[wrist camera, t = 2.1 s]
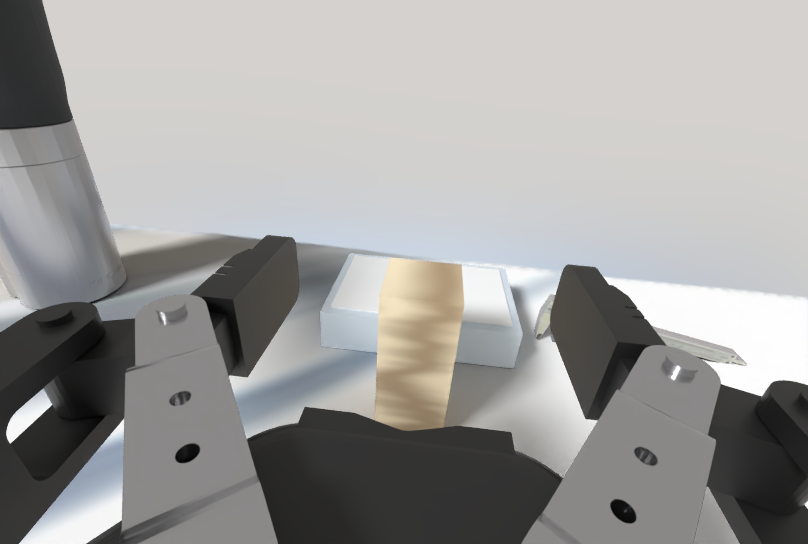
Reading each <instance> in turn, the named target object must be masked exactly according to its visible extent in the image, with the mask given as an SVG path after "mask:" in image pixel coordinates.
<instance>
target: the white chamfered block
mask: <svg viewBox="0 0 808 544" xmlns="http://www.w3.org/2000/svg"><path fill="white" fill-rule="evenodd" d="M390 258H394V257H384V256H374V255H364V254H354V253H350V254H349V255H348V257H347V259H346V261H345V263H344V265H343V267H342V269H341V271H340V273H339V275H338V277H337V279H336V281H335V283H334V285H333V287H332V289H331V291H330V293H329V295H328V297H327V299H326V301H325V302H324V304H323V306H322V308H321V310H320V325H321V343H322V347H330V348H339V349H348V350H356V351H365V352H374V353H377V347H378V318H379V295H380V291H381V288H382V285H383V281H384V278H385V274H386V271H387V267H388V264H389V261H390ZM400 259H404V258H400ZM410 260H414V259H410ZM420 261H424V260H420ZM430 262H434V261H430ZM440 263H444V262H440ZM450 264H454V263H450ZM460 265H462V277H463V292H464V310H463V316H462V322H461V328H460V334H459V340H458V346H457V352H456V358H455V362H460V363H469V364H478V365H486V366H495V367H504V368H512V369H514V366H515V362H516V359H517V355H518V351H519V348H520V344H521V340H522V336H523V332H522V328H521V325H520V321H519V318H518V314H517V310H516V307H515V303H514V299H513V296H512V292H511V289H510V285H509V281H508V278H507V274H506V270H505V269H503V268H493V267H483V266H473V265H463V264H460Z"/></svg>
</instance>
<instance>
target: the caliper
mask: <svg viewBox="0 0 808 544" xmlns="http://www.w3.org/2000/svg"><path fill="white" fill-rule="evenodd" d="M554 299H555V295H552V294H550V296H549V297H548V298H547V300H546V301H545V303H544V304H543V306H542V307H541V309H540V312H539V315H538V318H537V322H536V325H535V329H534V332H535V336H536V338H537V339H539V340H540V339H541V337H542V335H543V334H544V332H545V331H546V329H547V328H548V326H549V325H550V314H551V309H552V306H553V302H554ZM652 327H653V326H652ZM653 329H654V330H655V331H656V332H657V334H658V335H659V336H660V337H661V339H662V340H663V341H664V343H665V344H666V345H667V346H670V347H674V348H677V349H681V350H683V351H686V352H688V353H690V354H692V355H694V356H696V357H699V358H702V359H706V360H709V361H713V362H719V363H727V364H732V363H736V364H739V365H744V366H745V365H747V364H746V363H745V361H744V360H743V359H742V358H741V357H740V356H739V355H737V354H736V352H735V351H734V350H733V349H730V348H727V347H723V346H720V345H716V344H713V343H709V342H706V341H702V340H699V339H695V338H692V337H688V336H685V335H681V334H678V333H674V332H671V331H667V330H664V329H660V328H656V327H653ZM551 339H552V342H555V339H554V337H553V334H551Z"/></svg>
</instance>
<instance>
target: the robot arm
mask: <svg viewBox="0 0 808 544" xmlns="http://www.w3.org/2000/svg"><path fill="white" fill-rule="evenodd" d="M0 276H1V278H2V280H3V282H4V284H5V286H6V288H7V290H8V291H9V293H10V295H11V297H17V298H19V299H20V301H21V303H22V304H23V305H25V306H26V307H29V308H32V309H39V310H38V311H35V312H33V313H31V314H29V315H27V316H26V317H24V318H22V319H21V320H19V321H18V322H16V323H14V324H13V325H11V326H10V327H8V328H7V329H5V330H3V331H2V332H0V544H19V543H20V542H21V541H22V539H23V538H24V537H25V536H26V535H27V533H28V532H29V531H30V530H31V529H32V527H33V526H34V525H35V524H36V523H37V521H38V520H39V519H40V518H41V517H42V515H43V514H44V513H45V512H46V511H47V510H48V508H49V507H50V506H51V505H52V504H53V502H54V501H55V500H56V499H57V498H58V496H59V495H60V494H61V493H62V492H63V490H64V489H65V488H66V487H67V486H68V484H69V483H70V482H71V481H72V480H73V479H74V477H75V476H76V475H77V474H78V473H79V471H80V470H81V469H82V468H83V467H84V465H85V464H86V463H87V462H88V461H89V459H90V458H91V457H92V456H93V455H94V453H95V452H96V451H97V450H98V449H99V448H100V446H101V445H102V444H103V443H104V442H105V440H106V439H107V438H108V437H109V436H110V434H111V433H112V432H113V431H114V430H115V428H116V427H117V426H118V425H119V424H120V422H121V421H122V420H123V419H124V457H123V501H122V521H120V522H119V523H117V524H116V525H114V526H113V527H111V528H110V529H108V530H106V531H105V532H103V533H102V534H100V535H99V536H97V537H96V538H94V539H93V540H91V541H90V542H88V543H87V544H693V542H694V538H695V533H696V529H697V525H698V520H699V516H700V512H701V507H702V503H703V498H704V494H705V490H706V486H707V487H709V488H710V491H711V492H712V494H713V496H714V498H715V499H716V501H717V503H718V505H719V507H720V508H721V510H722V512H723V514H724V516H725V517H726V519H727V521H728V523H729V525H730V526H731V528H732V530H733V532H734V534H735V535H736V537H737V539H738V541H739V543H740V544H808V509H807V508H806V506H805V505H804V504H805V503H806V502H807V501H808V385H805V384H801V383H798V382H793V381H784V380H783V381H775V382H773V383H771V385H770V386H769V387H768V389H767V390H766V392H765V393H764V394H763V396H762V397H761V396H758V395H755V394H751V393H748V392H745V391H741V390H738V389H735V388H731V387H728V386H725V385H722V384H721V381H720V378H719V376H718V374H717V373H716V372H715V370H714V369H713V368H712V367H710V366H709V365H708V364H707V363H706V362H704V361H703V360H701V359H700V358H698V357H696V356H694V355H692V354H690V353H688V352H686V351H683V350H681V349H677V348H674V347H670V346H667V345H666V344H665V343H664V341H663V340H662V339H661V337H660V336H659V335H658V334H657V332H656V331H655V330H654V329H653V327H652V326H651V325H650V323H649V322H648V321H647V320H646V319H644V316H643V314H642V313H641V312H640V311H639V310H637V307H636V305H635V304H634V303H633V302H632V300H631V299H630V298H629V297H628V296H627V295H626V294H624V293H623V292H621V291H620V290H619V289H617V288H616V287H614V286H612V285H609V284H608V283H607V282H606V280H605V279H604V278H603V276H602V275H601V274H600V272H599V271H598V269H596V268H595V267H588V266H577V265H566V266H565V268H564V270H563V272H562V275H561V278H560V282H559V285H558V289H557V292H556V295H555V299H554V302H553V306H552V309H551V314H550V328H551V331H552V334H553V337H554V339H555V342H556V344H557V347H558V349H559V352H560V355H561V357H562V360H563V362H564V365H565V367H566V370H567V373H568V375H569V378H570V380H571V383H572V385H573V388H574V390H575V393H576V396H577V398H578V401H579V403H580V406H581V408H582V411H583V414H584V416H585V419H591V420H598V422H597V423H596V425H595V427H594V428H593V430H592V432H591V433H590V435H589V437H588V438H587V440H586V442H585V443H584V445H583V447H582V448H581V450H580V452H579V453H578V455H577V457H576V458H575V460H574V462H573V463H572V465H571V467H570V468H569V470H568V472H567V473H566V475H565V477H564V478H562V477H560V476H559V475H558V474H557V473H555V472H554V471H552V470H551V469H550V468H548V467H547V466H545V465H544V464H542V463H540V462H538V461H537V460H535V459H533V458H531V457H529V456H527V455H525V454H523V453H520V452H518V451H515V450H514V445H513V440H512V434H511V432H505V431H496V430H488V429H480V428H472V427H464V426H454V427H443V428H433V429H423V430H413V431H404V430H400V429H397V428H394V427H392V426H389V425H386V424H383V423H381V422H378V421H375V420H372V419H370V418H367V417H364V416H361V415H358V414H356V413H350V412H342V411H334V410H326V409H318V408H309V407H305V408H304V410H303V413H302V415H301V418H300V420H299V422H298V423H295V424H289V425H284V426H279V427H276V428H272V429H269V430H266V431H264V432H261V433H259V434H256V435H254V436H252V437H250V438H248V439H246V435H245V432H244V428H243V425H242V422H241V418H240V415H239V411H238V408H237V404H236V401H235V397H234V394H233V390H232V387H231V383H230V380H229V375H233V376H241V377H248V376H249V374H250V373H251V371H252V370H253V368H254V367H255V365H256V363H257V362H258V360H259V359H260V357H261V356H262V354H263V353H264V351H265V349H266V348H267V346H268V345H269V343H270V342H271V340H272V339H273V337H274V335H275V334H276V332H277V331H278V329H279V328H280V326H281V325H282V323H283V321H284V320H285V318H286V317H287V315H288V314H289V312H290V310H291V309H292V307H293V306H294V304H295V303H296V300H297V298H298V293H299V274H298V263H297V251H296V243H295V240H294V239H293V238H292V237H281V236H271V235H267V236H266V237H264V238H263V239H262V240H261V241H260V242H259V243H258V244H257V245H256V246H255V247H254V248H253V249H248V250H246V251H243V252H241V253H239V254H237V255H235V256H233V257H232V258H231V259H230V260H228V261H227V262H226V263H225V264H224V266H223V267H221V268H219V269H218V270H217V271H216V272H215V274H213V275H212V276H210V277H209V278H208V279H207V280H206V281H205V282H204V283H203V284H201V285H200V286H199V287H198V288H197V289H196V290H195V291H194V292H192V293H191V294H190V295H174V296H168V297H164V298H161V299H158V300H156V301H153V302H151V303H149V304H148V305H146V306H144V307H143V308H142V309H141V310H140V311H139V312H138V313H137V315H136V317H135V319H124V320H112V321H101V318H100V316H99V313H98V311H97V308H96V307H95V306H94V305H93V304H90V303H89V302H92V301H95V300H98V299H100V298H102V297H105V296H107V295H109V294H110V293H112V292H114V291H116V290H117V289H118V288H119V287H121V286H122V285H123V283H124V282H125V281H126V278H127V276H126V272H125V269H124V266H123V263H122V261H121V258H120V255H119V252H118V249H117V246H116V242H115V239H114V236H113V233H112V231H111V228H110V225H109V222H108V219H107V216H106V213H105V210H104V207H103V204H102V201H101V198H100V195H99V192H98V189H97V187H96V184H95V181H94V178H93V175H92V172H91V169H90V166H89V163H88V160H87V157H86V154H85V152H84V149H83V146H82V143H81V140H80V137H79V134H78V131H77V128H76V125H75V122H74V120H73V116H72V113H71V111H70V107H69V104H68V100H67V94H66V87H65V81H64V77H63V73H62V69H61V66H60V63H59V60H58V57H57V53H56V50H55V47H54V43H53V40H52V36H51V33H50V29H49V25H48V21H47V18H46V14H45V11H44V6H43V3H42V0H0ZM43 388H44V390H45V392H46V394H47V396H48V397H49V399H50V401H51V403H52V406H51V407H50V408H49V409H48V410H46V411H45V412H44V413H43V414H42V415H41V416H40V417H39V418H38V419H37V420H36V421H35V422H33V423H32V424H31V425H30V426H29V427H28V428H27V429H26V430H25V431H24V432H23V433H22V434H21V435H19V436H18V437H17V438H16V439H15V440H14V441H13V442H12V443H11V444H10V443H9V442H8V440H7V437H6V430H7V426H8V423H9V421H10V419H11V417H12V416H13V415H14V413H15V412H16V411H17V410H18V409H19V408H21V407H22V406H23V405H24V404H25V403H26V402H28V401H29V400H30V399H31V398H32V397H33V396H35V395H36V394H37V393H38V392H39V391H40V390H42V389H43Z"/></svg>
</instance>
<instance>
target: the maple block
mask: <svg viewBox="0 0 808 544" xmlns="http://www.w3.org/2000/svg"><path fill="white" fill-rule="evenodd" d="M463 310H464V292H463V277H462V265H460V264H450V263H440V262H430V261H420V260H410V259H400V258H390V261H389V264H388V267H387V271H386V274H385V278H384V281H383V285H382V288H381V291H380V295H379V318H378V347H377V376H376V406H375V421H378V422H381V423H383V424H386V425H389V426H392V427H394V428H397V429H400V430H404V431H413V430H423V429H433V428H443V427H444V424H445V418H446V412H447V406H448V400H449V394H450V388H451V382H452V376H453V370H454V364H455V358H456V352H457V346H458V340H459V334H460V328H461V322H462V316H463Z"/></svg>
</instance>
